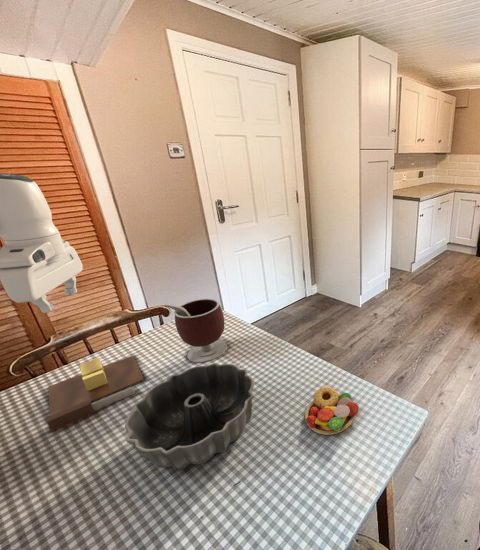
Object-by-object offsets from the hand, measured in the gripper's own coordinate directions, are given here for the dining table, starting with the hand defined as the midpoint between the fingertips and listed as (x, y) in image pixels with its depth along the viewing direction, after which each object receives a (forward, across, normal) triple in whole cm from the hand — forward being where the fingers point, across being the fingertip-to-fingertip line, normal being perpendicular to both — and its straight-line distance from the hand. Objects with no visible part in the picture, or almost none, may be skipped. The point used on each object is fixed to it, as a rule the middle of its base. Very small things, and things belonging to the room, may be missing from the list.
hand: (61, 302), depth 74 cm
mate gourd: (+30, -14, +24) cm, 41 cm away
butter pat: (+28, -4, -2) cm, 29 cm away
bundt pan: (+30, +21, +30) cm, 47 cm away
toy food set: (+30, +26, +61) cm, 72 cm away
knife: (+30, +6, +1) cm, 30 cm away
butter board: (+30, -5, -3) cm, 30 cm away
